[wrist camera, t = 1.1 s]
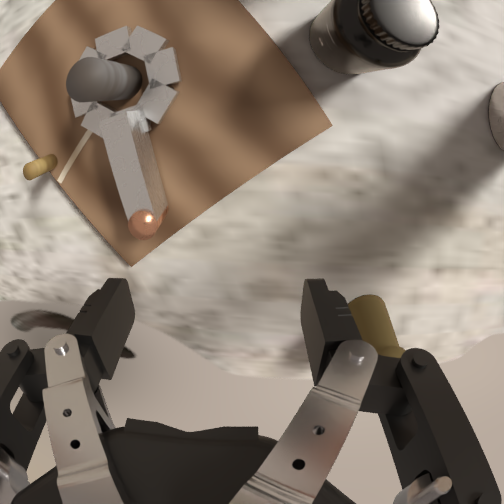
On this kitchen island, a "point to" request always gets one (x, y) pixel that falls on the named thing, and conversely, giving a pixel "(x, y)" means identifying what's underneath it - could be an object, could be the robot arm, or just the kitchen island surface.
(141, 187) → the segmented ring with handle
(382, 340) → the cork
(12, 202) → the kitchen island surface
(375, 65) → the supplement bottle
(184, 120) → the board
